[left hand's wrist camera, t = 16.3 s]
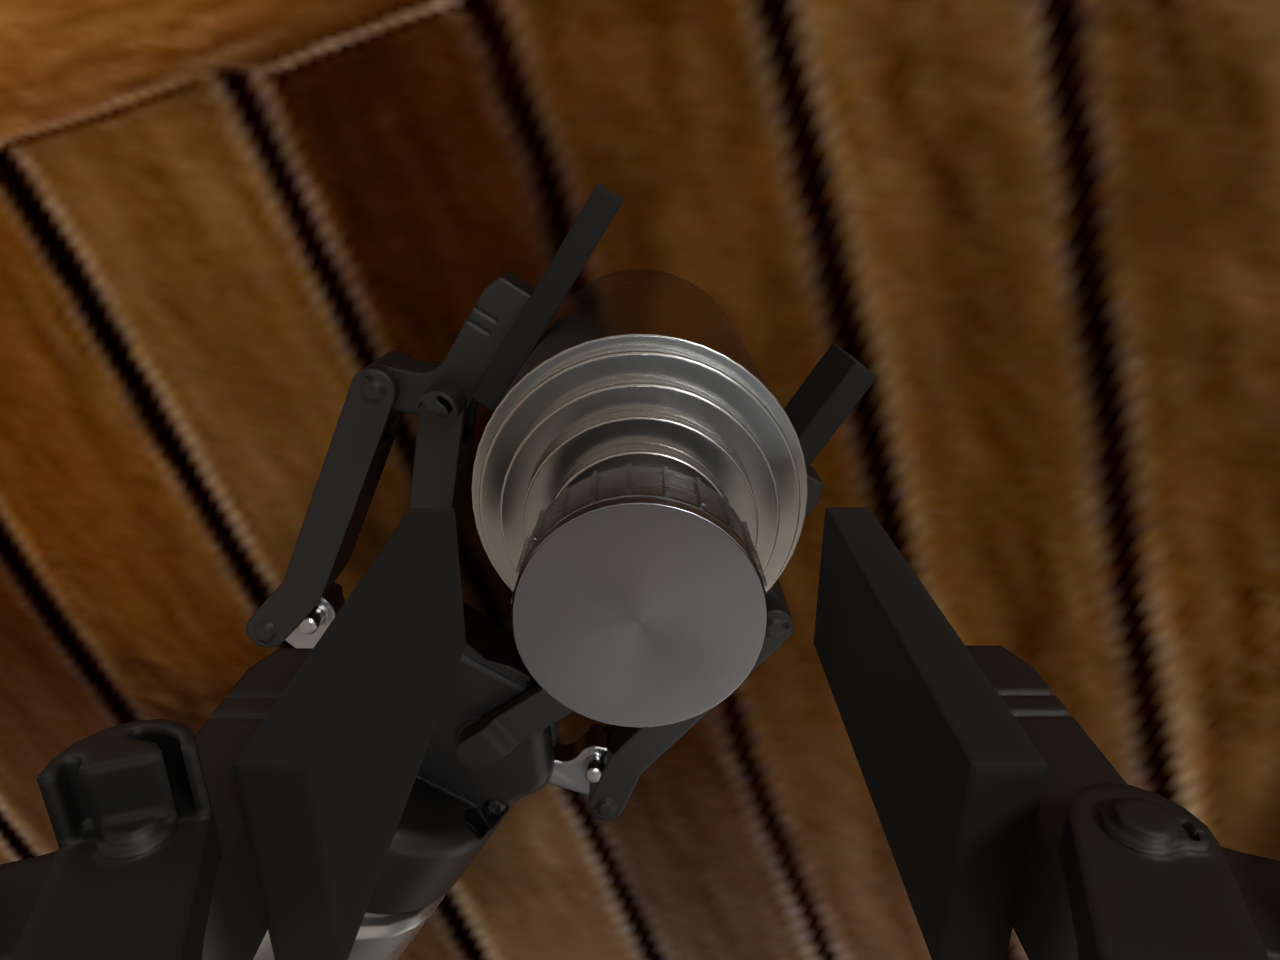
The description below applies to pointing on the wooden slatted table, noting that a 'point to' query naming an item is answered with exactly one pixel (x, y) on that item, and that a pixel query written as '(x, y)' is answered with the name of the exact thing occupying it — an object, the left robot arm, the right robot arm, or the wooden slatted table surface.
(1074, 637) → the wooden slatted table surface
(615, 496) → the cap
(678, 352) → the bottle
